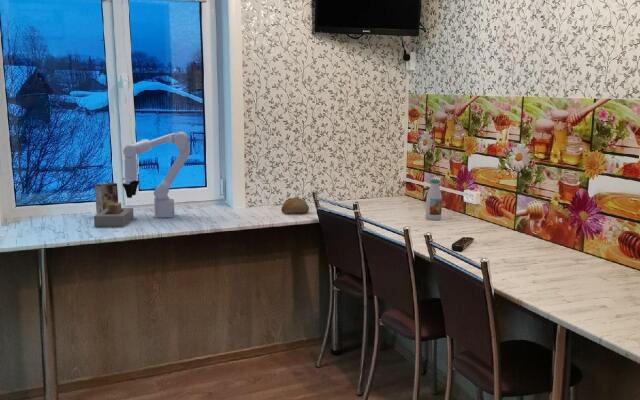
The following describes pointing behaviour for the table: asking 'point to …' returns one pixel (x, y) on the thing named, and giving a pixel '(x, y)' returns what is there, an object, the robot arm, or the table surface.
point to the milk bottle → (434, 201)
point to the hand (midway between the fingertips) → (131, 196)
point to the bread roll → (295, 206)
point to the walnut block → (114, 208)
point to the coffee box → (105, 195)
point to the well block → (113, 218)
